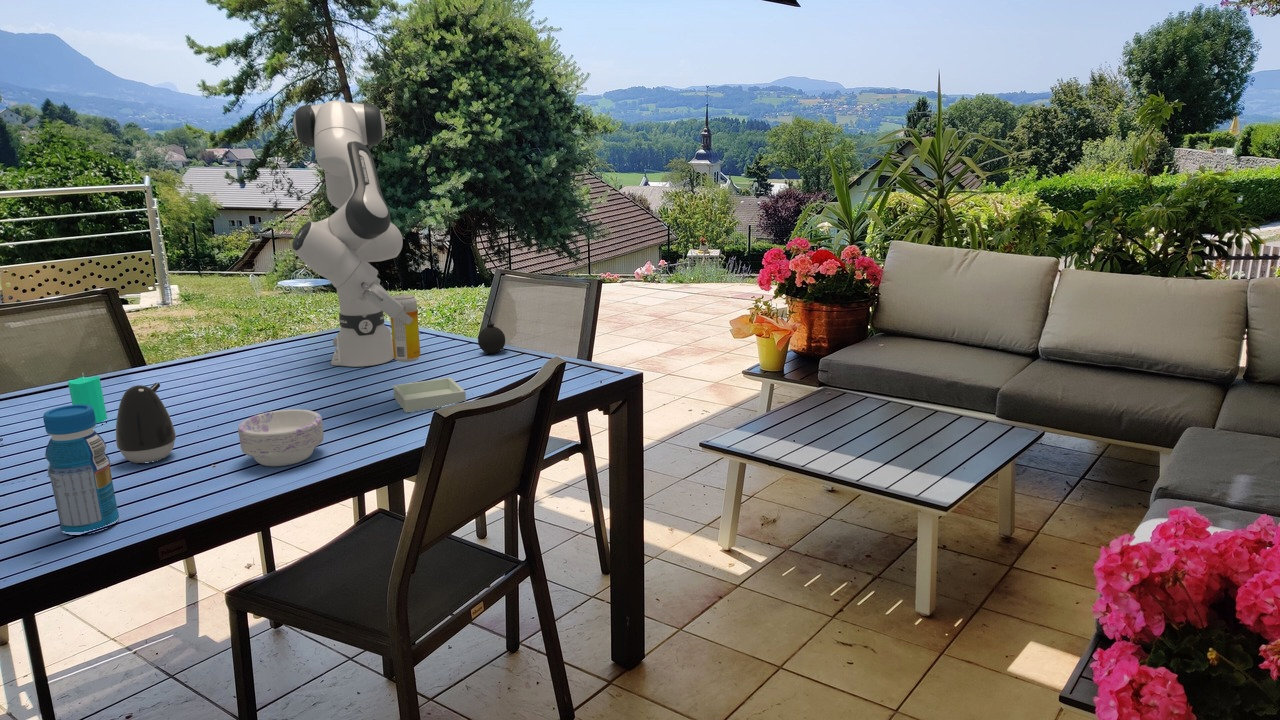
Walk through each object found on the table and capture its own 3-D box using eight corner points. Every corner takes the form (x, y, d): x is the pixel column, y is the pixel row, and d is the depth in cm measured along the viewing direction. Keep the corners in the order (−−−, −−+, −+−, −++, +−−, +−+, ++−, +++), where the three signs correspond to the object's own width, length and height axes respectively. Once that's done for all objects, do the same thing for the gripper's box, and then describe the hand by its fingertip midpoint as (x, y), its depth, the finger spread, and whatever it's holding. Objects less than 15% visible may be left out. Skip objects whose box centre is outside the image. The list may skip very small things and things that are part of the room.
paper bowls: (323, 467, 163) (319, 427, 161) (237, 477, 159) (231, 437, 157) (328, 441, 177) (323, 404, 175) (249, 450, 173) (243, 412, 171)
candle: (114, 421, 194) (104, 370, 191) (90, 429, 188) (80, 377, 185) (94, 419, 195) (85, 368, 192) (70, 427, 190) (59, 375, 187)
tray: (394, 397, 207) (393, 385, 206) (451, 389, 213) (450, 377, 212) (406, 413, 195) (404, 400, 194) (466, 404, 201) (465, 391, 200)
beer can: (424, 356, 203) (419, 294, 199) (415, 362, 197) (411, 298, 193) (399, 356, 203) (394, 293, 199) (390, 362, 197) (385, 298, 193)
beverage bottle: (69, 543, 134) (44, 422, 129) (53, 528, 139) (28, 411, 134) (128, 524, 140) (107, 408, 135) (110, 511, 145) (89, 399, 140)
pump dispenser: (191, 451, 173) (179, 379, 169) (152, 470, 163) (138, 394, 160) (148, 448, 175) (136, 377, 172) (107, 466, 166) (93, 391, 162)
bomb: (509, 350, 251) (507, 310, 248) (500, 357, 244) (498, 315, 241) (484, 349, 253) (481, 310, 250) (474, 356, 245) (471, 315, 242)
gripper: (376, 276, 183) (425, 316, 189) (361, 264, 200) (407, 301, 207) (356, 299, 182) (407, 338, 188) (344, 285, 200) (390, 321, 206)
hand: (407, 318), depth 198 cm, fingers closed on beer can, 6 cm apart
